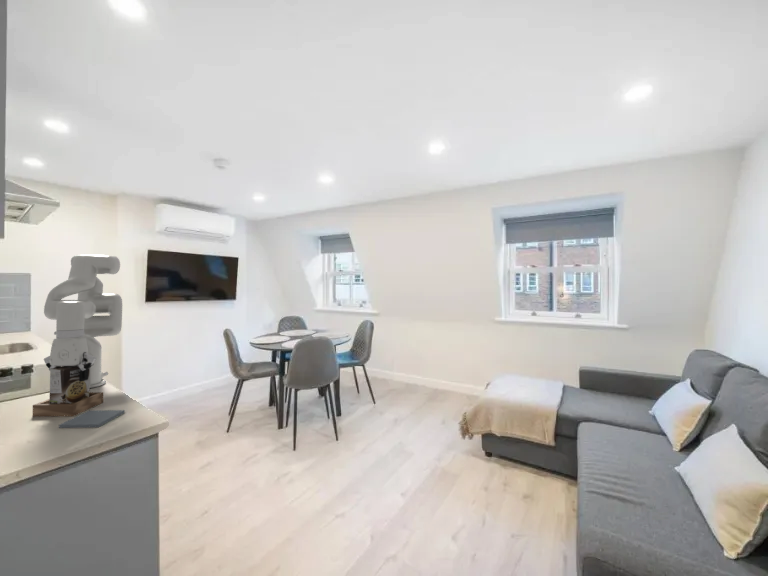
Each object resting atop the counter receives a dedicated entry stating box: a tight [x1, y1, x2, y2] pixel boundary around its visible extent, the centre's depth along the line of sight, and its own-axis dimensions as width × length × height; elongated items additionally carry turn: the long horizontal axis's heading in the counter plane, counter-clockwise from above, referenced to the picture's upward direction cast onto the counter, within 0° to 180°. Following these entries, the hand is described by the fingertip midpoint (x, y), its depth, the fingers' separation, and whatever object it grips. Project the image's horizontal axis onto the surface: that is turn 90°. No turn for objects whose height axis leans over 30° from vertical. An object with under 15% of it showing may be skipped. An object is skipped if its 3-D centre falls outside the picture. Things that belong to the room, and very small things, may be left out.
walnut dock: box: [32, 391, 104, 418], centre depth 121 cm, size 13×13×4 cm
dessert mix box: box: [49, 365, 90, 404], centre depth 121 cm, size 9×6×16 cm
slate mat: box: [58, 409, 126, 429], centre depth 112 cm, size 12×12×1 cm
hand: (69, 380), depth 121 cm, fingers open, 9 cm apart
